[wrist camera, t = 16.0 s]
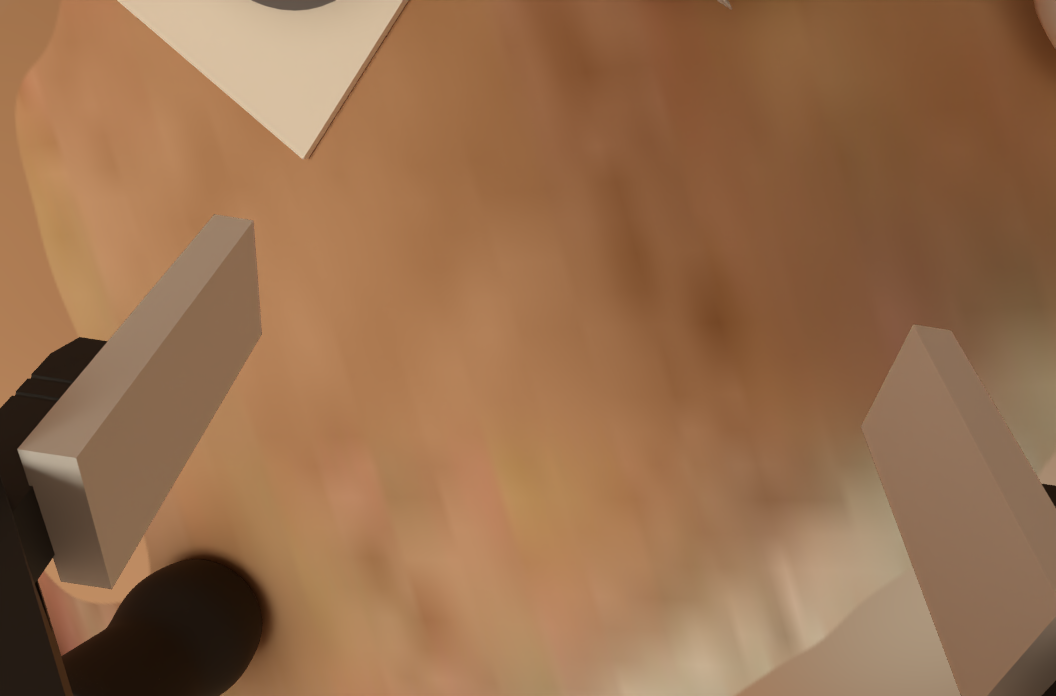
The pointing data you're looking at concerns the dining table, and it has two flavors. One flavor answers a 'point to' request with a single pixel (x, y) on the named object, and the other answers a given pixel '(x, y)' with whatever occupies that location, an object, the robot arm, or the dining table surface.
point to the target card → (277, 54)
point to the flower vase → (1051, 7)
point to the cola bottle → (172, 636)
